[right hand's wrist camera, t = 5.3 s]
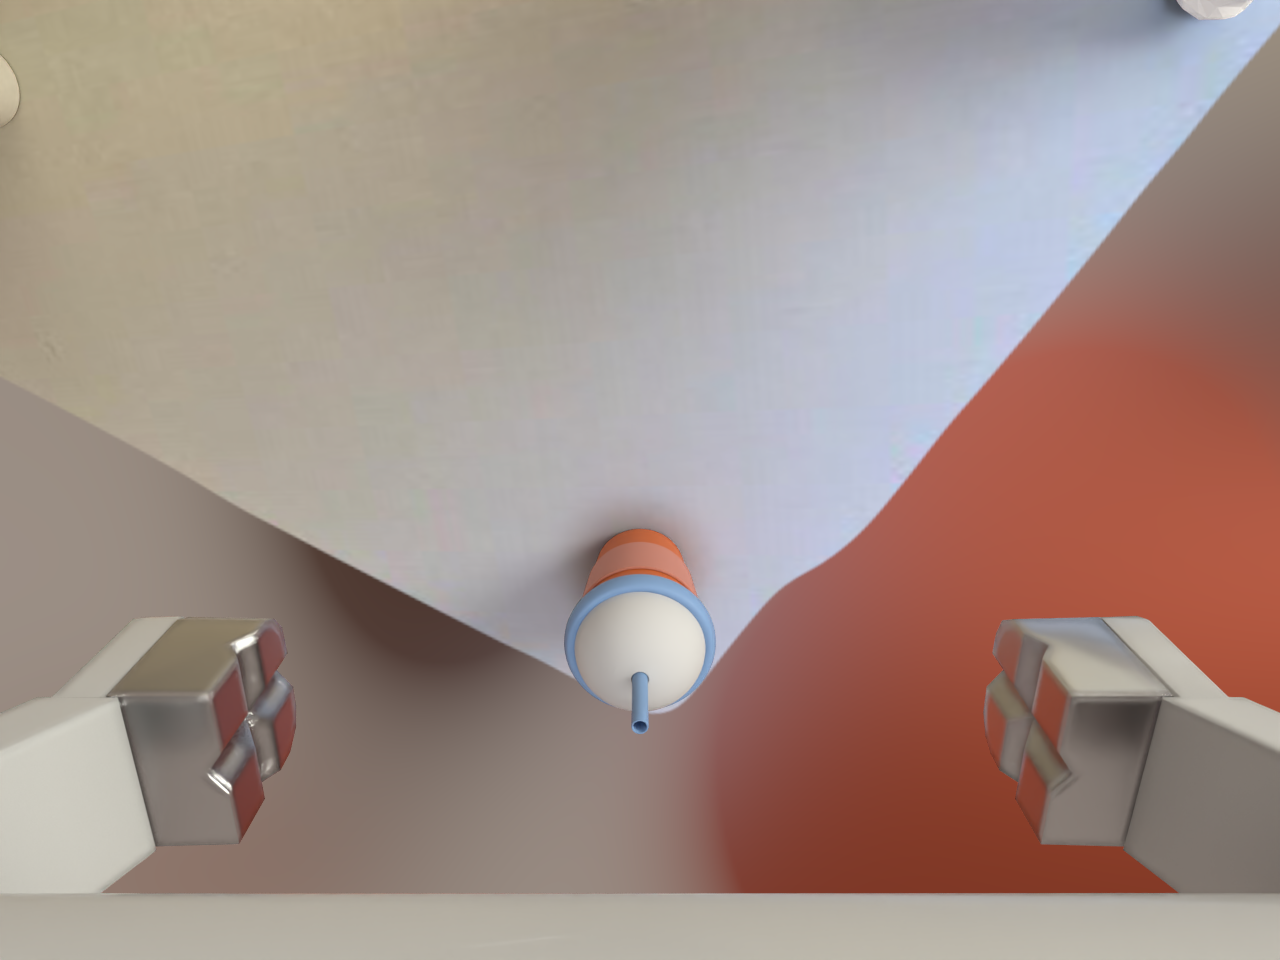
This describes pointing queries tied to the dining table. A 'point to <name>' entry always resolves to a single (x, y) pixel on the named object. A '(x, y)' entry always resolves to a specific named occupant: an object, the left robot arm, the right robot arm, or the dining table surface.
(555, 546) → the dining table surface
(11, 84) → the white bottle
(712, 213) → the dining table surface
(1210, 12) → the skull
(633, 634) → the cup with straw
